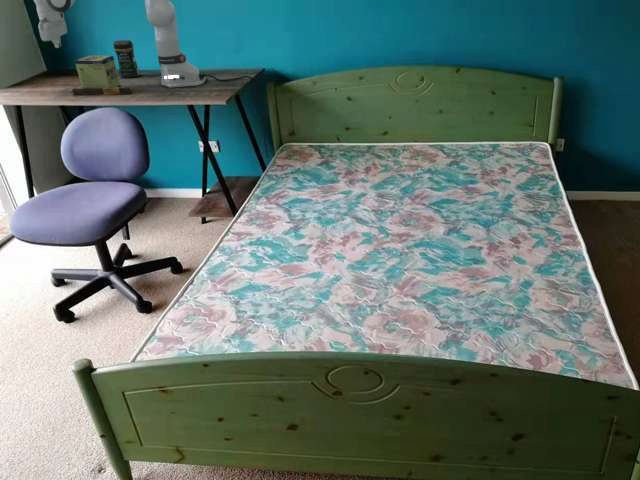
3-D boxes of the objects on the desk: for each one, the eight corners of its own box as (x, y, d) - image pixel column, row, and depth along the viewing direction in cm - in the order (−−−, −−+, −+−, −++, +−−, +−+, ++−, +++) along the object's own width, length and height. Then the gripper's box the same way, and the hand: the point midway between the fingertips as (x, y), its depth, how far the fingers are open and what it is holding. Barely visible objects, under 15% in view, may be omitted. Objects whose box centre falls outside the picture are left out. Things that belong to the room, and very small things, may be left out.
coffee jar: (119, 78, 320) (109, 42, 310) (124, 74, 327) (115, 39, 316) (137, 78, 320) (128, 41, 310) (141, 74, 327) (133, 38, 316)
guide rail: (131, 93, 296) (130, 86, 294) (130, 94, 294) (128, 88, 293) (75, 94, 297) (74, 88, 295) (74, 95, 295) (72, 89, 293)
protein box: (111, 93, 297) (102, 60, 288) (82, 92, 299) (73, 60, 291) (122, 87, 305) (114, 55, 297) (94, 86, 308) (85, 55, 299)
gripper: (45, 20, 274) (54, 51, 282) (65, 12, 291) (73, 42, 299) (31, 20, 274) (41, 52, 282) (52, 13, 291) (61, 42, 299)
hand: (58, 47), depth 290 cm, fingers closed
